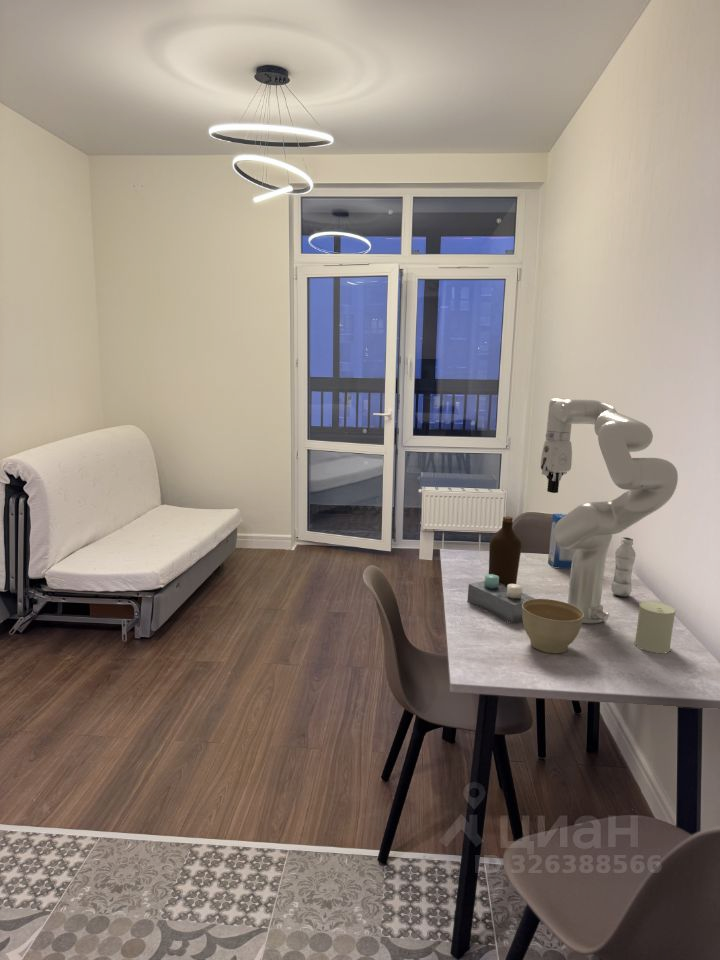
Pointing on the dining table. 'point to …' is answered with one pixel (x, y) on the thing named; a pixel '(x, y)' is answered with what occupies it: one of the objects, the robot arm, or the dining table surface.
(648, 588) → the dining table surface
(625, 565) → the plastic bottle
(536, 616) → the planter bowl
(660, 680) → the dining table surface
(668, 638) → the can
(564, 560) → the milk carton
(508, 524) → the olive oil
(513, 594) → the cream knob
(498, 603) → the mount block
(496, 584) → the teal knob
